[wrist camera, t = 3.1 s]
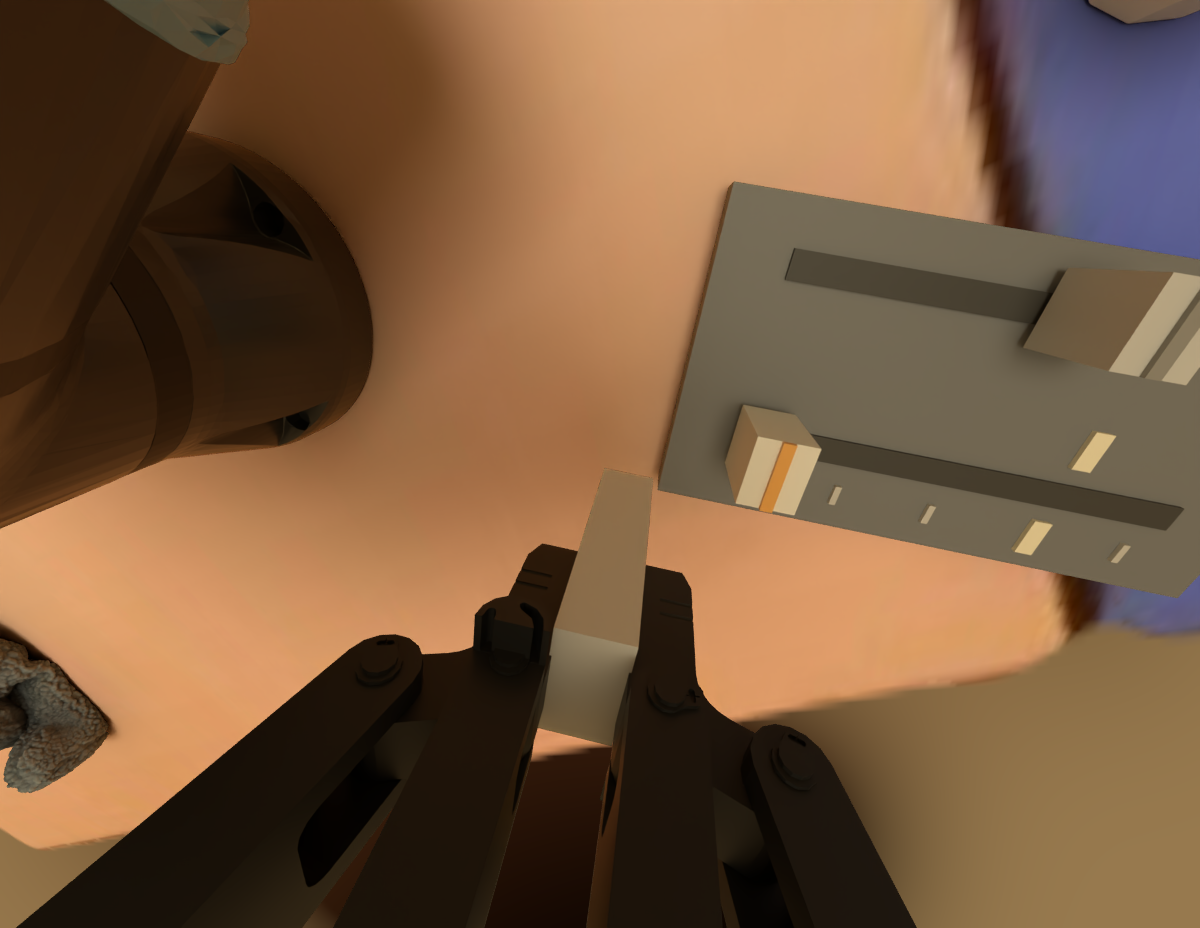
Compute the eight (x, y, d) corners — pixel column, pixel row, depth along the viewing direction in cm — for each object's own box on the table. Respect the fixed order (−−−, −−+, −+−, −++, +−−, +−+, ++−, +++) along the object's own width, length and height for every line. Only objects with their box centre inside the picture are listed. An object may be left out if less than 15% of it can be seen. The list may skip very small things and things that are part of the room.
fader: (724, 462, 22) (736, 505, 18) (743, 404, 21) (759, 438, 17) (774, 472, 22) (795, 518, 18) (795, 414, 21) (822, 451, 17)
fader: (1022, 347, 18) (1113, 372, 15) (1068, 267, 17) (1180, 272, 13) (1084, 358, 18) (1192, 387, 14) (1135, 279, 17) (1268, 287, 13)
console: (658, 474, 26) (657, 492, 24) (728, 187, 19) (734, 180, 18) (1143, 574, 24) (1182, 601, 22) (1384, 298, 18) (1466, 303, 16)
